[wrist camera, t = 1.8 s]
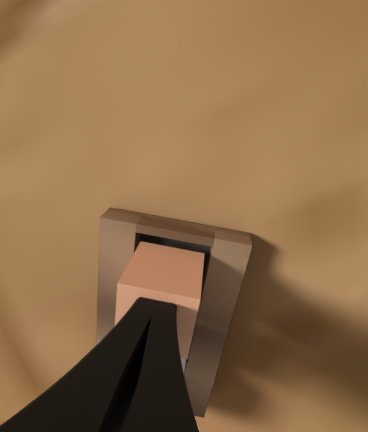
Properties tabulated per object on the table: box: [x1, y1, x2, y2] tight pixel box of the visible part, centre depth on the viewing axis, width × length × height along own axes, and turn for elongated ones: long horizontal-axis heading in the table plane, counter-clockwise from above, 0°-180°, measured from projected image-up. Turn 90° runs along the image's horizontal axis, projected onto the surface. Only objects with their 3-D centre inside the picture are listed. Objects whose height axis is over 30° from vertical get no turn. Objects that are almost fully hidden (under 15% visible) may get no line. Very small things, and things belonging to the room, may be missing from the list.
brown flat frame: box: [96, 208, 252, 418], centre depth 15 cm, size 12×7×1 cm, turn 172°
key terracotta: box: [115, 241, 205, 359], centre depth 11 cm, size 3×3×3 cm
